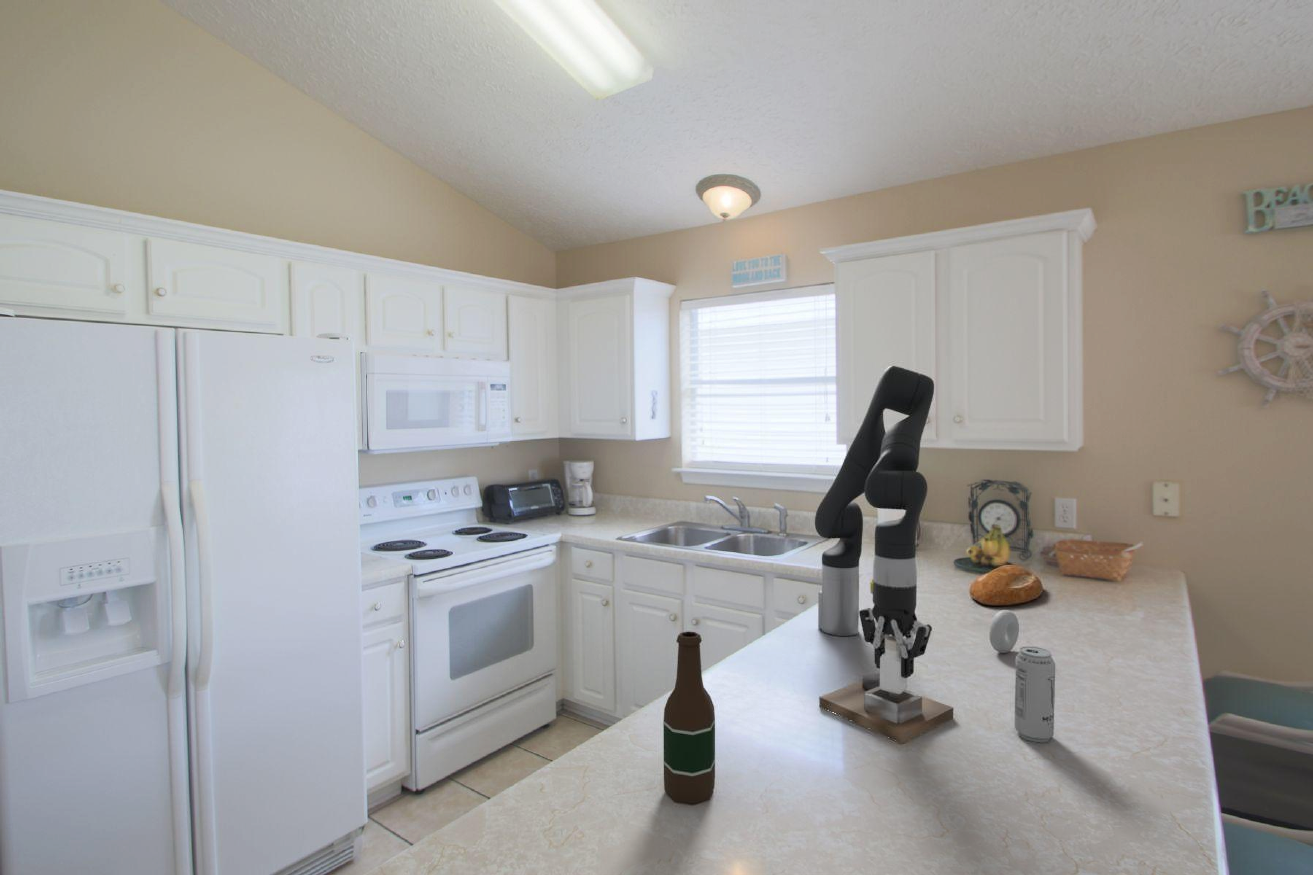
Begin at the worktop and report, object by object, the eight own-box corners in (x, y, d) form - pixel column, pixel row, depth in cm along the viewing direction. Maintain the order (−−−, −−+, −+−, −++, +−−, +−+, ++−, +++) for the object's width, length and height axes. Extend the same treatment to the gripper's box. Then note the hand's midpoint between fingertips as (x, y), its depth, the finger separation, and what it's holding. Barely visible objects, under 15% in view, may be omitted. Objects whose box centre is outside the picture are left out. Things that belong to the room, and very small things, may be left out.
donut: (1001, 659, 154) (1001, 616, 154) (985, 655, 157) (986, 612, 157) (1021, 649, 161) (1022, 607, 160) (1006, 645, 163) (1007, 604, 163)
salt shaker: (886, 683, 127) (887, 633, 127) (908, 688, 125) (908, 637, 124) (878, 690, 124) (879, 639, 124) (900, 696, 122) (901, 643, 121)
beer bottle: (661, 778, 106) (660, 626, 105) (710, 775, 107) (710, 624, 105) (666, 807, 98) (665, 644, 97) (719, 804, 99) (719, 642, 98)
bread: (1056, 590, 213) (1057, 562, 212) (1016, 614, 188) (1017, 582, 188) (997, 580, 225) (998, 553, 225) (952, 601, 201) (953, 571, 201)
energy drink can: (1052, 747, 115) (1054, 660, 114) (1012, 738, 118) (1014, 653, 117) (1054, 732, 120) (1056, 649, 119) (1015, 724, 123) (1017, 642, 122)
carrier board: (819, 706, 131) (819, 681, 130) (870, 686, 140) (870, 662, 140) (902, 744, 116) (902, 715, 116) (953, 718, 126) (953, 691, 125)
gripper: (942, 584, 120) (941, 679, 121) (873, 569, 131) (872, 656, 132) (918, 591, 115) (917, 690, 116) (849, 575, 127) (848, 665, 128)
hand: (893, 671), depth 124 cm, fingers closed on salt shaker, 4 cm apart
